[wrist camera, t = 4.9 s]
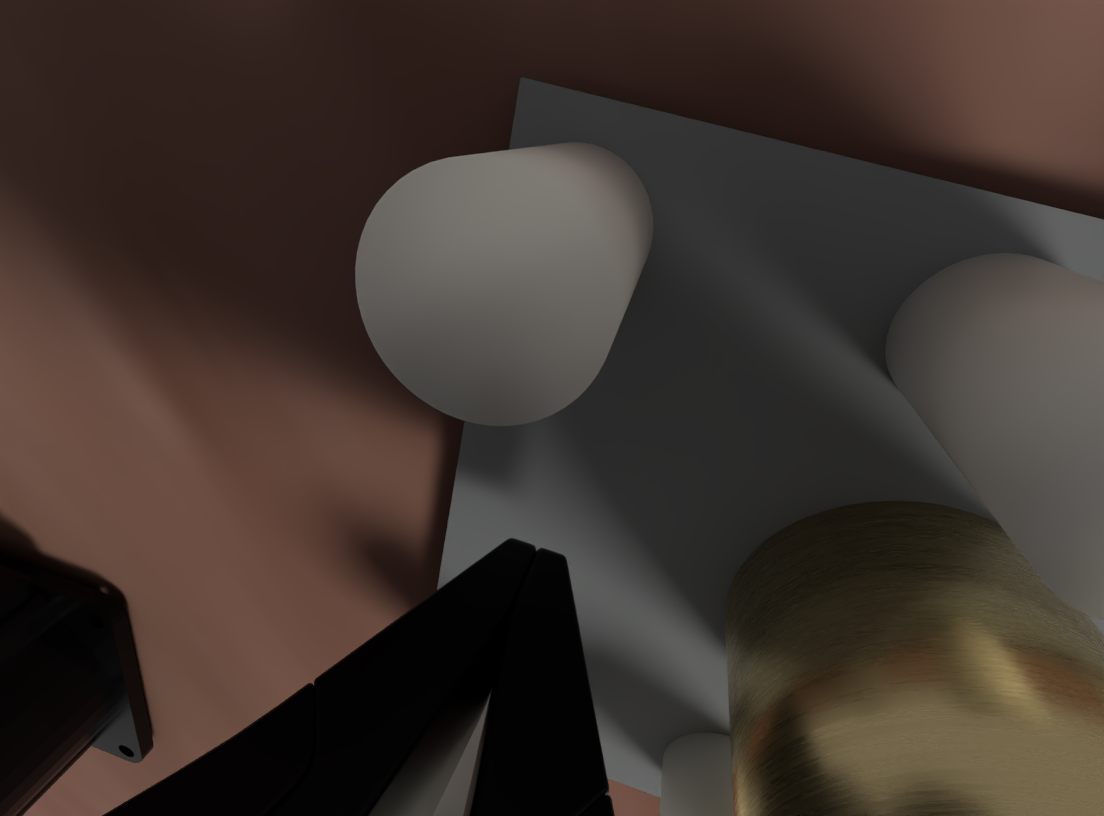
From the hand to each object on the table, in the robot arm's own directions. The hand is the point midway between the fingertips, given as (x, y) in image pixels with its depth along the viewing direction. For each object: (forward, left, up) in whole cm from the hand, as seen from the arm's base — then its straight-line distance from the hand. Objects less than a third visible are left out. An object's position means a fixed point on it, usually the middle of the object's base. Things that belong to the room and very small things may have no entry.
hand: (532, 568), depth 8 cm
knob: (0, -5, -1) cm, 5 cm away
